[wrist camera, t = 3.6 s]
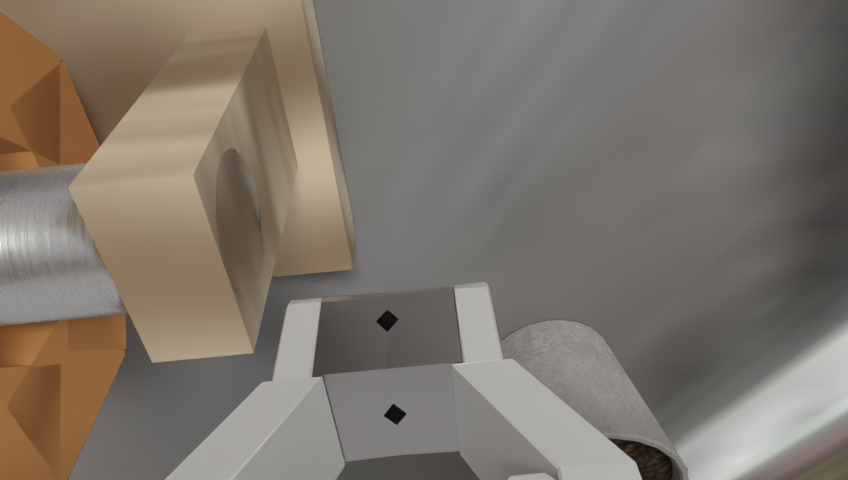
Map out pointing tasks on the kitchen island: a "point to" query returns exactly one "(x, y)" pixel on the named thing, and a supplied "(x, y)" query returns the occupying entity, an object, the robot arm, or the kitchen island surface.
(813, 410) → the kitchen island surface
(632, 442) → the house plant
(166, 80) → the pipe stand
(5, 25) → the orange faceted ring
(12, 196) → the steel pipe
